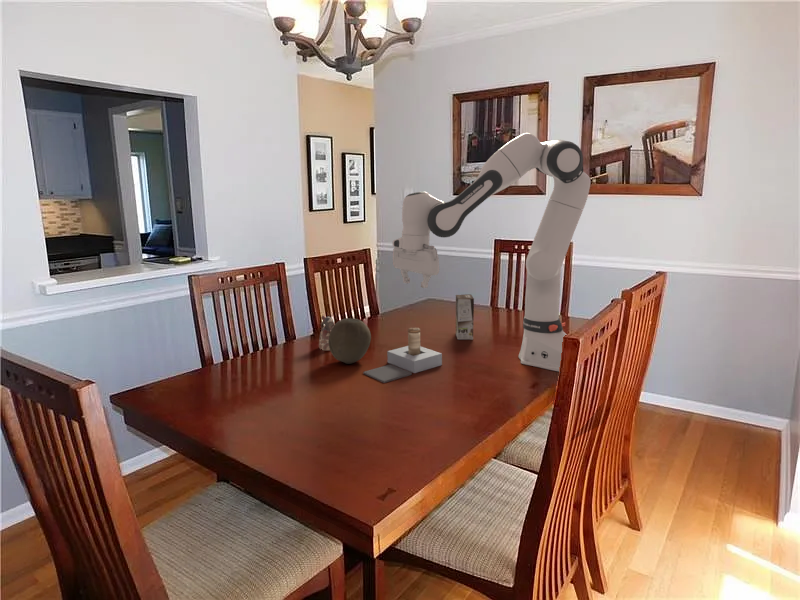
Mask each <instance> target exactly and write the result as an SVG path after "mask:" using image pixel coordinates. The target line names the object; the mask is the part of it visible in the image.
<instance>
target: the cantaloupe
mask: <svg viewBox="0 0 800 600" xmlns="http://www.w3.org/2000/svg"><path fill="white" fill-rule="evenodd" d="M371 340H372V334H371V331H370V328H369V327H368V325H367V324H365V322H364V321H362V320H360V319H358V318H346V317H345V318H343V319H339V320H338V321H337V322H336V323H334V327H333V328H332V330H331V332H330V335H329V348H330V350H329V351H330V353H331V355H332V356H333V357H334V359H336V360H337V361H339V362H343V363H345V364H347V365H352V364H354V363H357V362H359V361H360V360H361V359H363V357H365V354H367V352H368V349H369V347H370V344H371Z"/></svg>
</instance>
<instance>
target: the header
mask: <svg viewBox="0 0 800 600" xmlns="http://www.w3.org/2000/svg"><path fill="white" fill-rule="evenodd" d="M386 353H387V354H386V355H387V364H389V365H390V364H391V365H393V366H396V367H398V368H401V369H403V370H406V371H408V372H411V373H413V374H417V373H419V372H423V371H427V370H430V369H433V368H436V367H440V366H443V354H442V352H438V351H435V350H433V349H429V348H426V347H425V346H421V345H420V354H419V355H415V356H412V355H410V354H408V345H406V346H402V347H399V348H394V349H392V350H391V349H390V350H387V352H386Z"/></svg>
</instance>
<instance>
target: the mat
mask: <svg viewBox="0 0 800 600" xmlns="http://www.w3.org/2000/svg"><path fill="white" fill-rule="evenodd" d="M412 373H413V372H410V371H408V370H405V369H403V368H400V367H398V366H395V365H393V364H390V363H389V364H387V365H383V366H380V367H376V368H372V369H369V370H365V371H363V372H362V374H363V375H366V376H368V377H370V378H372V379H374V380H376V381H378V382H381V383H383V384H384V383H385V384H386V383H388V382H392V381H395V380H398V379H402V378H405V377H408V376H411V375H412Z"/></svg>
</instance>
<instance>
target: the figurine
mask: <svg viewBox="0 0 800 600" xmlns="http://www.w3.org/2000/svg"><path fill="white" fill-rule="evenodd" d="M321 320H322V321H321V322H320V328H321V330H320V334H319V339H318V340H319V341H318V347H319V349H320V350H321V349H322V351H330V348H329V335H330V332H331V330H332V328H333V327H334V325H335V322H334V319H333V318H332V317H331V316H326V317H325V316H324V315H322V316H321Z"/></svg>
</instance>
